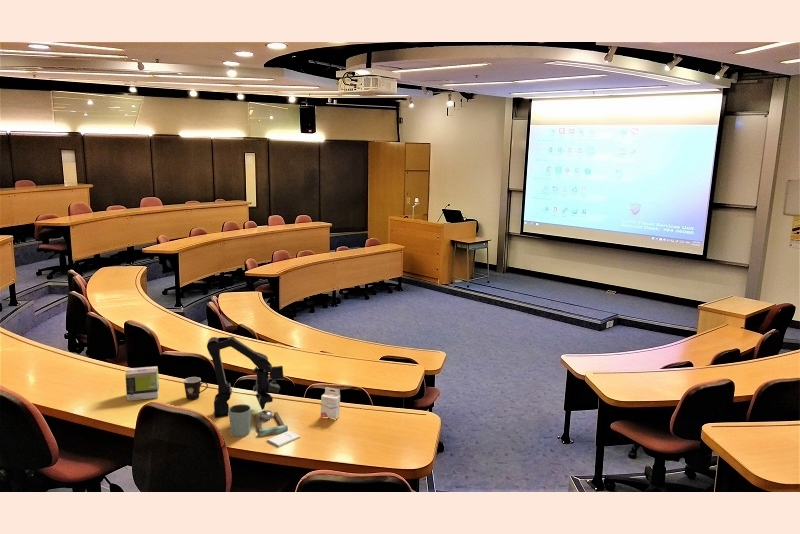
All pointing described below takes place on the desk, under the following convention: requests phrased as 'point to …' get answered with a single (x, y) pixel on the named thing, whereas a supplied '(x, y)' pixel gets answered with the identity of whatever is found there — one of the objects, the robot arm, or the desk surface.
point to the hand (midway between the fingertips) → (262, 409)
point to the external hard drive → (283, 438)
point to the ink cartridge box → (330, 403)
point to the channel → (271, 430)
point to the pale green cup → (239, 420)
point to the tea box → (142, 383)
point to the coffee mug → (193, 387)
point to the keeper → (265, 415)
